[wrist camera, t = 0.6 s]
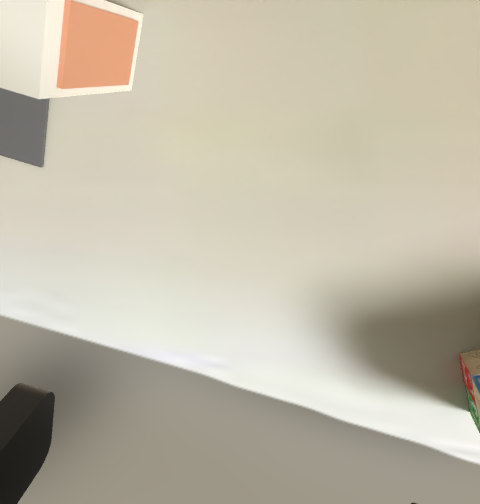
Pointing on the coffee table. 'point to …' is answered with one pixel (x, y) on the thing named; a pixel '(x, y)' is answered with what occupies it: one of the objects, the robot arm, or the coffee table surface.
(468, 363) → the stack of blocks
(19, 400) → the robot arm
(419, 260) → the coffee table surface
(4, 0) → the tall block
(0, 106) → the mat
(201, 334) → the coffee table surface
